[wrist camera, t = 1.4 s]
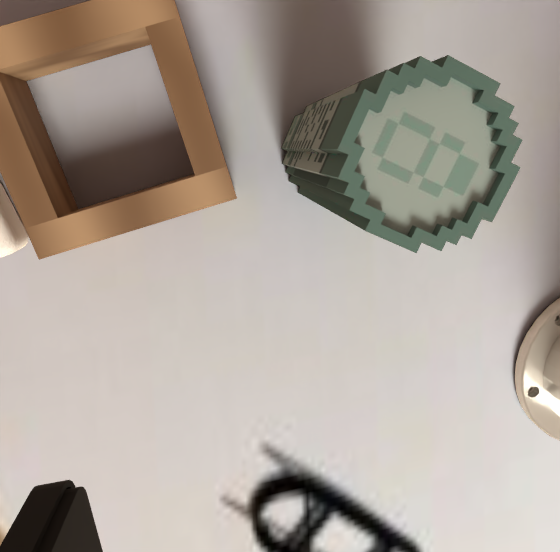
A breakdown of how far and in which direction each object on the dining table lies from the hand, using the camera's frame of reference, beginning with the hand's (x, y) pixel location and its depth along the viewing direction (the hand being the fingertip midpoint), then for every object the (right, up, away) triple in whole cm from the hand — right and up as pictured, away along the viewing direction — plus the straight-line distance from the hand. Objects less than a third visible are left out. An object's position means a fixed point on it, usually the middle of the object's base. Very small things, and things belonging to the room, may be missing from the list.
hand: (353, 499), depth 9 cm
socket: (-11, +13, +20) cm, 26 cm away
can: (+2, +12, +22) cm, 25 cm away
